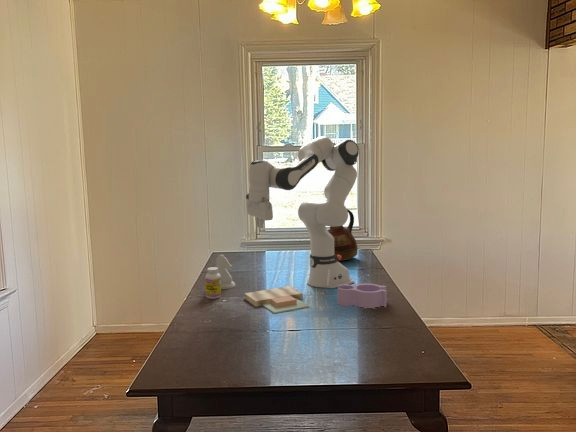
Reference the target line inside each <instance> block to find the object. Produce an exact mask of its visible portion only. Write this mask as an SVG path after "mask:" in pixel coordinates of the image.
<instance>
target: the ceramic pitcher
mask: <svg viewBox="0 0 576 432" xmlns="http://www.w3.org/2000/svg"><path fill="white" fill-rule="evenodd" d="M346 209H347V211H348V216H349V223H348V225H347V227H344V225H343V226H336V227H330V226H329V229H327V231H328V232H329V233H330V234H331V235H332V236H333V237H334V254H336V255H341V256H342V257H341V259H340V260H339V259H337V261H338V262H340V261H345V260H346V261H348V260H350V259H353V258H354V257H356V256H357V255H358V244H357V241H356V238H355V237H354V235H353V233H352V231H353V227H354V224H355V216H354V214H353V212H352V211H351V210H350V209H348V208H346Z"/></svg>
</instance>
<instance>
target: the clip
mask: <svg viewBox="0 0 576 432" xmlns="http://www.w3.org/2000/svg"><path fill="white" fill-rule="evenodd" d="M387 297H388V293H387V286H386V285H379V284H375V283H359V284H342V285H338V287H337V305H339V306H343V307H350V306H349V305H355V306H354V307H357V306H359V307H358V308H360V307H364V308H363V309H367V308H373V309H376V308H375V307H379V306H386V307H387V303H388V300H387ZM365 307H366V308H365ZM379 308H380V307H379Z"/></svg>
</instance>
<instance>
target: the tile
mask: <svg viewBox="0 0 576 432" xmlns="http://www.w3.org/2000/svg"><path fill="white" fill-rule="evenodd" d="M271 304H272V305H274V306H275V307H277V308H278V307H284V306H289V305H295V304H297V300H296V299H295V298H293V297H292V296H284V297H278V298H272V299H271Z"/></svg>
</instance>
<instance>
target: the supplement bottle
mask: <svg viewBox="0 0 576 432" xmlns="http://www.w3.org/2000/svg"><path fill="white" fill-rule="evenodd" d="M206 270H207V273H206V275H205V297H206V298H207V299H209V300H210V299H211V300H215V299H220V298H221V297H222V289H221V275H220V274H219V273H218V268H217V267H216V266H212V267H210V266H209V267H208V268H207V269H206Z"/></svg>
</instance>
